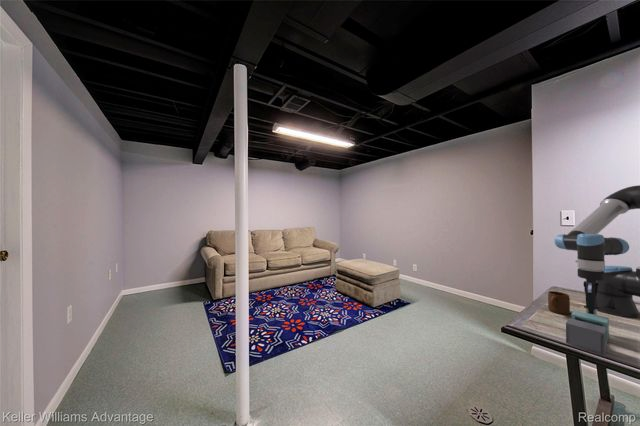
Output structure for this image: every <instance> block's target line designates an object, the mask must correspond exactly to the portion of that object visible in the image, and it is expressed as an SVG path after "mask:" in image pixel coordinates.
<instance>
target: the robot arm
mask: <svg viewBox="0 0 640 426" xmlns="http://www.w3.org/2000/svg"><path fill="white" fill-rule="evenodd" d="M630 210H640V185H633V186H628V187H625V188H622V189H621V188H620V190H617V191H615V192H613V193H611V194H610V195H608V196H606V197H605V198H603V199H602V201H600V203H599V206H598V207H597V208H596V209H595V210H594V211H592V212H591V213H590V214H589V215H588V216H587V217H585V219H583V220H582V221H581V222H579V224H577V225H576V226H575V227H574V228H572V230H571V231H569V232H568V233H567V234H565V233H564V234H563V233H562V234H561V233H560V234H557V235H556V236H555V238H554V244H555V246H556V247H557V248H558V249H562V250H567V251H576V252H577V259H576V260H575V261H574V262H575V263H577V277H578V278H581V279H584V281H583V282H582V283H583V287H584V290H583V291H584V293H585V295H584V296H585V305H584V306H583V308H584V309H585V310H586V312H585V313H589V314H594V315H597V312H598V311H599V312H602V313H606V314H610V315H612V316H613V315H614V316H618V317H619V316H620V317H624V316H627V317H626V318H638V316H639V317H640V311H639V310H638V307H637V305H636V303H635V301H634V299H633V296H635V297H639V298H640V266H638V267H637V266H636V269H635V270H633V268H632V267H630V266H621V265H606V261H605V256H619V255H623V254H624V255H625V254H626V253H628V252H629V250H630V245H629V243H628V241H626V240H625V239H623V238H620V237H604V235H603V234H599V233H600V232H601V231H603V230H604V229H605V228H606V227H607V226H608V225H609V224H610V223H612V222H613V221H614V220H615V219H616V218H617V217H619V216H620V215H622V214H626V213H627V212H628V211H630Z"/></svg>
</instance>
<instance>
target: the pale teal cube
mask: <svg viewBox="0 0 640 426" xmlns="http://www.w3.org/2000/svg"><path fill="white" fill-rule="evenodd" d="M570 316H571V317H570V318H571V319H575V320H579V321H583V322H587V323H591V324H595V325H599V326H602V327H606V343H608V342H609V339H610V338H609V337H610V324H609V323H610V322H609V321H610V320H609V319H610V318H609V317H605V316H602V315H594V314H589V313H586V312H584V311H579V310H575V309H574V310H573V311H572V312H571V315H570Z"/></svg>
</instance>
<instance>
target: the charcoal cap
mask: <svg viewBox="0 0 640 426" xmlns="http://www.w3.org/2000/svg"><path fill="white" fill-rule="evenodd" d="M565 342H566V343H567V344H569V345H572V346H575V347H578V348H582V349H585V350H588V351H591V352H594V353H597V354H601V355H604V356H606V352H607V348H608V347H607V346H608V345H607V342H606V327H602V326H599V325H595V324H591V323H587V322H583V321H579V320H575V319H571V317H569V318H567V320H566V322H565Z"/></svg>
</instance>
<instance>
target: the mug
mask: <svg viewBox="0 0 640 426" xmlns="http://www.w3.org/2000/svg"><path fill="white" fill-rule="evenodd" d="M547 292H548V293H547V303H548V304H547V305H548V310H549V311H550V312H552V313H554V314H558V315H565V316H567V315H568V316H569V315H570V313H571V311H570V310H571V309H570V308H571V299H570V295H569V294H568V293H565V292H561V291H552V290H550V291H547Z"/></svg>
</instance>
